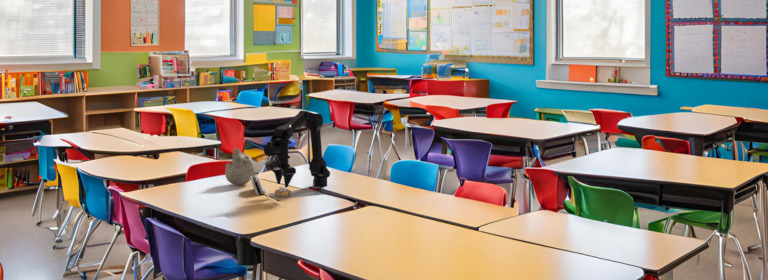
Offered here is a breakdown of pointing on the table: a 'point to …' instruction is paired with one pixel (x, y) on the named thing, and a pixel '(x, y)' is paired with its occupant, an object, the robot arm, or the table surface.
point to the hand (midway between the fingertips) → (282, 185)
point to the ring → (282, 193)
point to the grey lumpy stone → (239, 168)
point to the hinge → (257, 185)
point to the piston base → (296, 193)
